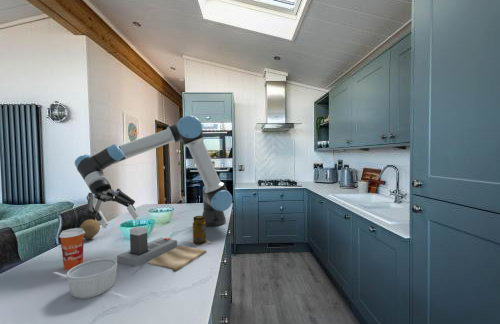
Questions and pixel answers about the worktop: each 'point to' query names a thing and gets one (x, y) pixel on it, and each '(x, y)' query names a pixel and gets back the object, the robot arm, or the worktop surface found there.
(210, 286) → the worktop surface
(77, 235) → the paper cup
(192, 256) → the tan cloth
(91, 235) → the natural sponge
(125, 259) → the grey slotted holder
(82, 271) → the ramekin
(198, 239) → the condiment
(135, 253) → the charger
